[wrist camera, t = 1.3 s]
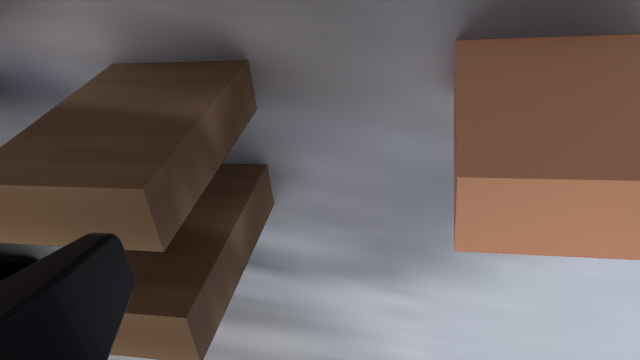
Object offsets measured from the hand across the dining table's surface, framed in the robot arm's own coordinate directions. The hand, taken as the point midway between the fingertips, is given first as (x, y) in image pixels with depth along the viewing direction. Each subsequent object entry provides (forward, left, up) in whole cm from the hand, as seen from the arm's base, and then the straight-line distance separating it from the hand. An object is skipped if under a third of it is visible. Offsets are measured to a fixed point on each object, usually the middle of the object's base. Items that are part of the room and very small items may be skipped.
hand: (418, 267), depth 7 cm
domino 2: (-7, +10, -13) cm, 17 cm away
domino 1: (-3, +10, -13) cm, 16 cm away
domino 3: (-2, -3, -13) cm, 13 cm away
